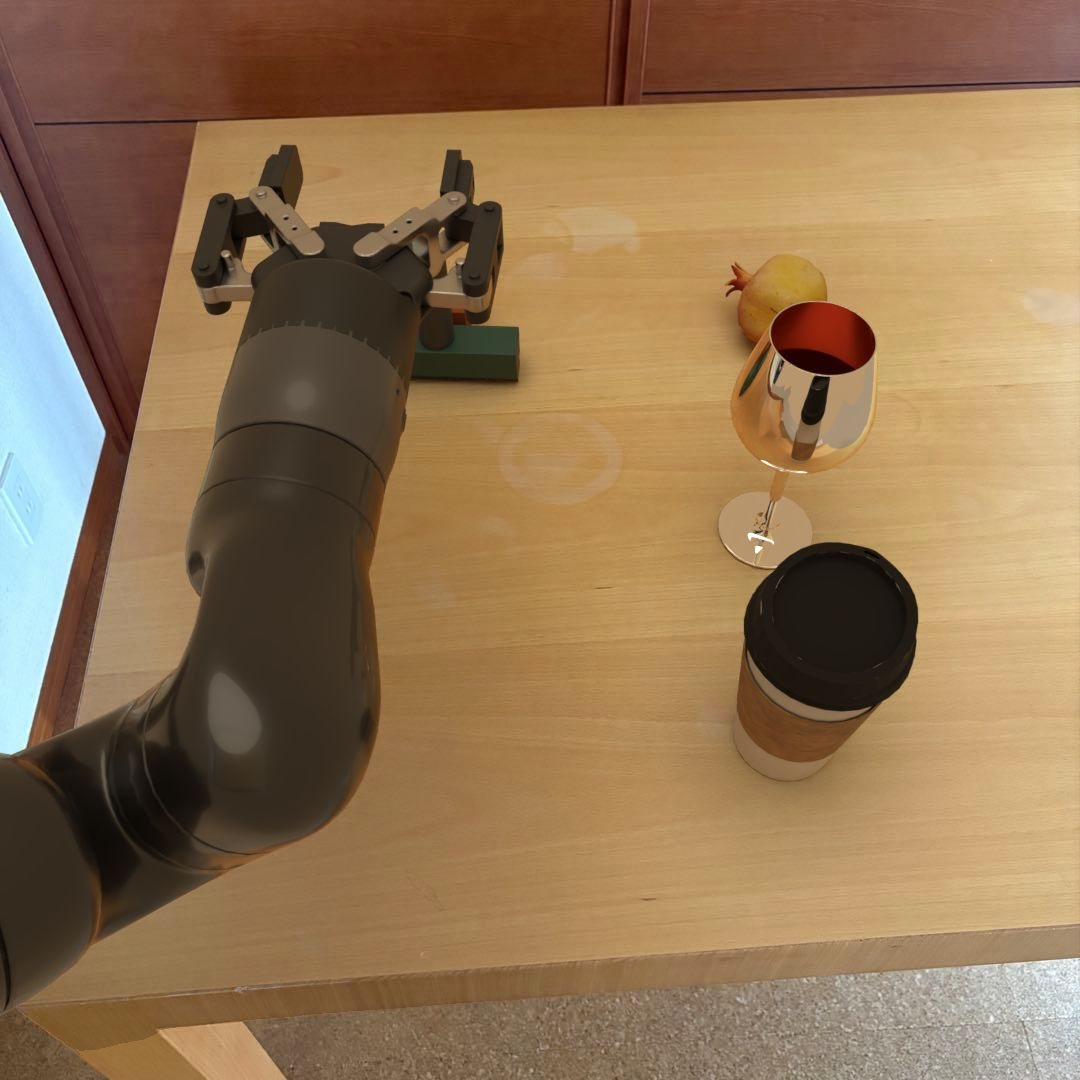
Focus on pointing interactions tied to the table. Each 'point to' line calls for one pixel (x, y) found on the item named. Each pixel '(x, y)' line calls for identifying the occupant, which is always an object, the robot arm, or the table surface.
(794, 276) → the fruit
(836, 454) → the wineglass
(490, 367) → the wiper
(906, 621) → the coffee cup
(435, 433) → the table surface
